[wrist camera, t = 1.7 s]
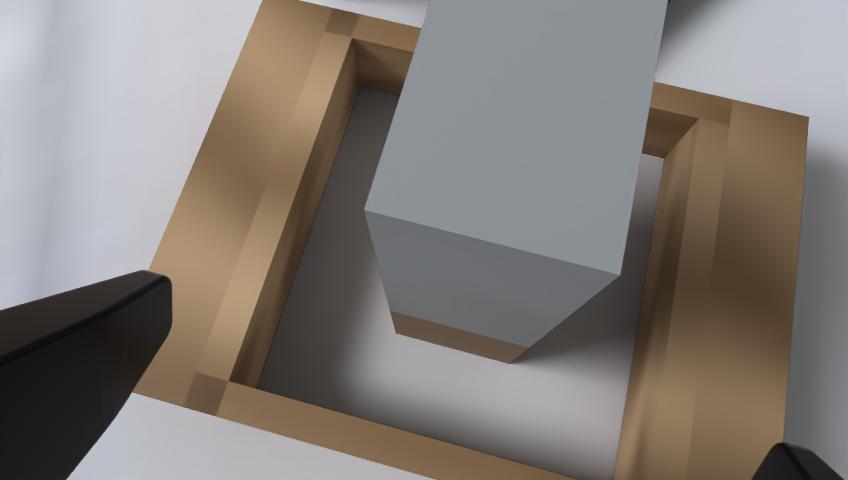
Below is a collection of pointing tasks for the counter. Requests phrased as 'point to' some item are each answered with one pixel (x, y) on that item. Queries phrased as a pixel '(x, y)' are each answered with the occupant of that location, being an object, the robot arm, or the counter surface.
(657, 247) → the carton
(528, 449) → the counter surface
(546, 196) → the box
